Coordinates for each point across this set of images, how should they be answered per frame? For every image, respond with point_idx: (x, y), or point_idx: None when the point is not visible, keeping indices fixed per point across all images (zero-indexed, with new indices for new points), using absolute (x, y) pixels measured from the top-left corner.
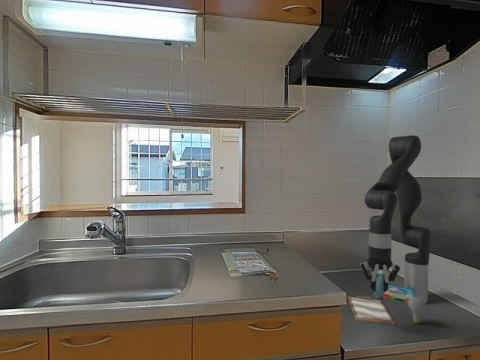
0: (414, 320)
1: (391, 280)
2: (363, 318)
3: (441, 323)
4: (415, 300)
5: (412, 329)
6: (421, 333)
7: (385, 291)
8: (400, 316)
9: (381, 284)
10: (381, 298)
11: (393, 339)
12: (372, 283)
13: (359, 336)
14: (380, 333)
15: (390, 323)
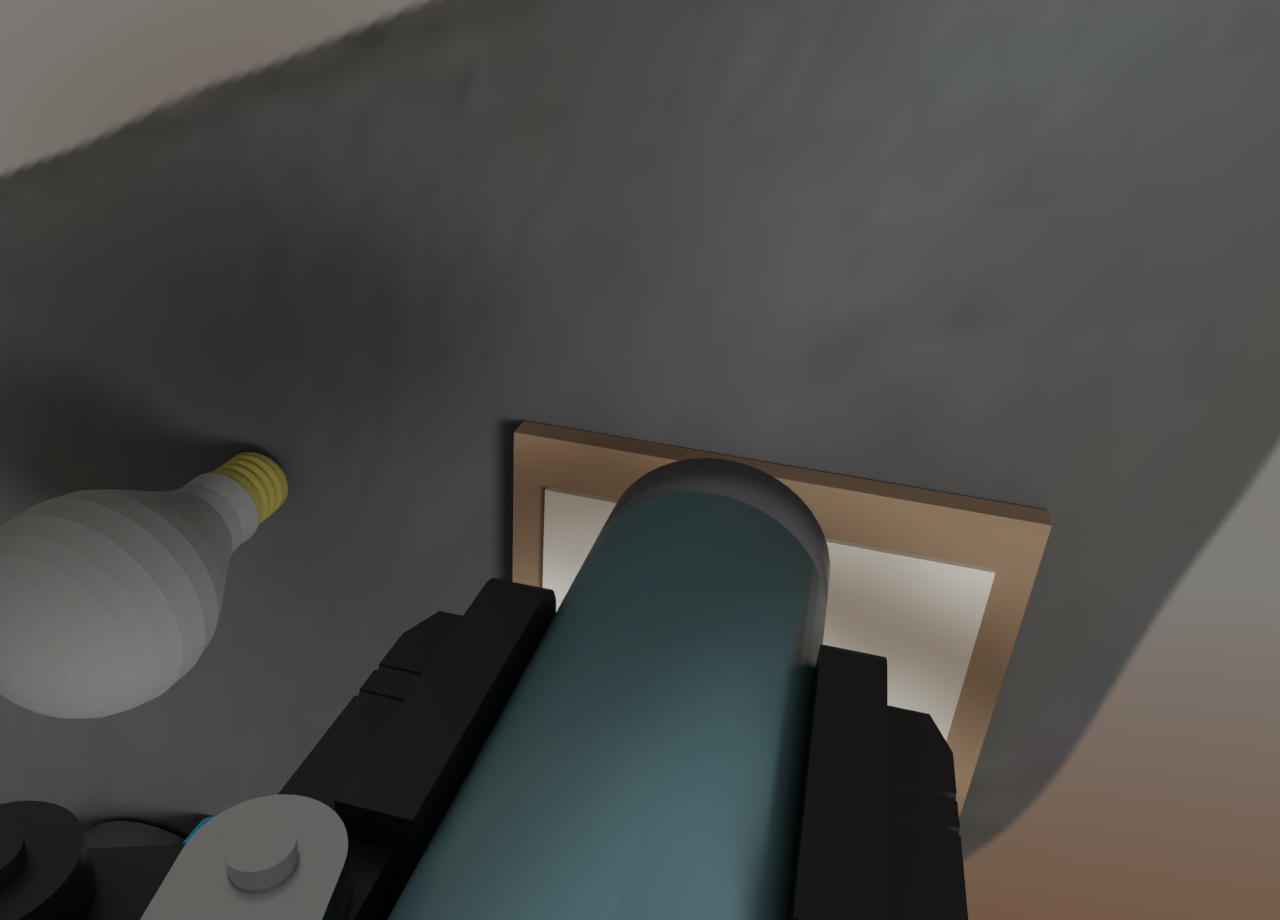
0: (267, 477)
1: (48, 847)
2: (923, 531)
3: (28, 476)
4: (49, 612)
5: (346, 331)
6: (268, 245)
7: (503, 592)
8: (400, 610)
9: (564, 757)
10: (678, 475)
11: (678, 30)
12: (903, 899)
13: (1231, 39)
14: (811, 183)
15: (574, 436)
